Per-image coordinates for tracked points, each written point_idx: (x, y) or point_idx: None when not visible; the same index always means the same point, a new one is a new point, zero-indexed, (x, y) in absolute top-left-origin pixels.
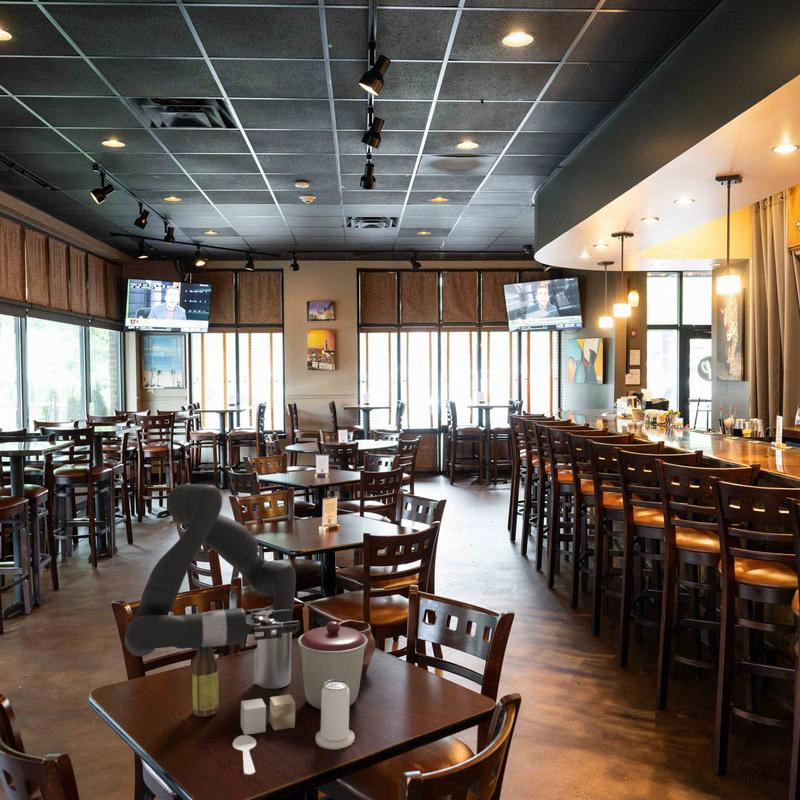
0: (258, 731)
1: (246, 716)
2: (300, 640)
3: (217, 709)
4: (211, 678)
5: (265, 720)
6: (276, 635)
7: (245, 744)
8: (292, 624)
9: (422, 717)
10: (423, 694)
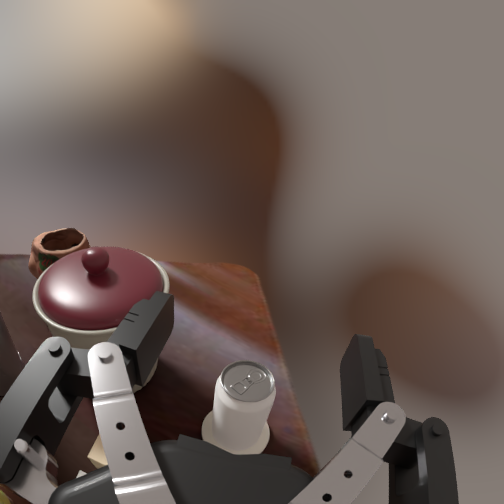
0: None
1: None
2: (46, 315)
3: (11, 501)
4: None
5: None
6: (413, 469)
7: None
8: (381, 369)
9: (237, 320)
10: (184, 289)
